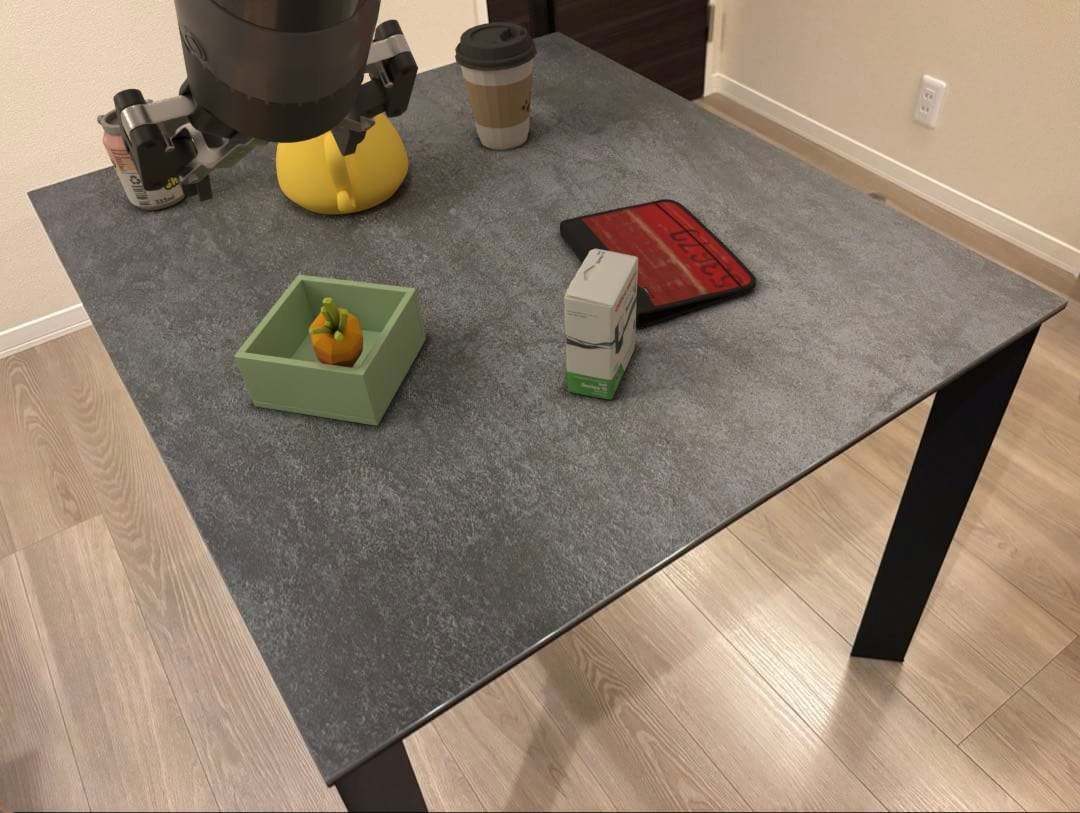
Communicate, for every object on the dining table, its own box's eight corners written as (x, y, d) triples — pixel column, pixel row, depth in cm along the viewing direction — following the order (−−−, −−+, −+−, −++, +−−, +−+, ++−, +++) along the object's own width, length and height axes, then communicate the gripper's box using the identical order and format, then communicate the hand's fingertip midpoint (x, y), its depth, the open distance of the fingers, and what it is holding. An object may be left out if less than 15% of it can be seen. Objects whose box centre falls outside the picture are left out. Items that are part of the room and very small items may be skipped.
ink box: (612, 402, 81) (612, 306, 73) (565, 392, 83) (560, 296, 75) (637, 347, 87) (640, 252, 79) (592, 338, 89) (591, 244, 80)
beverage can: (151, 177, 120) (117, 97, 112) (205, 179, 119) (174, 98, 111) (119, 211, 114) (80, 128, 106) (175, 213, 113) (140, 130, 104)
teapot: (283, 152, 124) (256, 60, 114) (401, 133, 126) (384, 41, 116) (284, 241, 106) (251, 141, 96) (420, 217, 108) (402, 117, 98)
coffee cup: (541, 154, 118) (535, 48, 108) (462, 158, 119) (448, 53, 108) (542, 118, 126) (536, 16, 116) (468, 122, 127) (455, 21, 116)
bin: (377, 426, 81) (363, 375, 76) (254, 406, 84) (233, 356, 79) (426, 338, 90) (416, 288, 85) (314, 323, 93) (298, 274, 89)
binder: (636, 313, 87) (558, 219, 101) (635, 331, 89) (558, 235, 103) (766, 278, 91) (673, 192, 106) (762, 295, 93) (671, 208, 107)
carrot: (361, 392, 86) (356, 345, 71) (312, 384, 85) (298, 335, 71) (369, 347, 87) (367, 293, 73) (322, 339, 86) (309, 282, 72)
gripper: (403, -116, 35) (359, 69, 50) (45, -43, 30) (117, 137, 45) (476, 51, 35) (410, 184, 50) (134, 149, 30) (175, 263, 46)
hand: (271, 161), depth 48 cm, fingers open, 8 cm apart
